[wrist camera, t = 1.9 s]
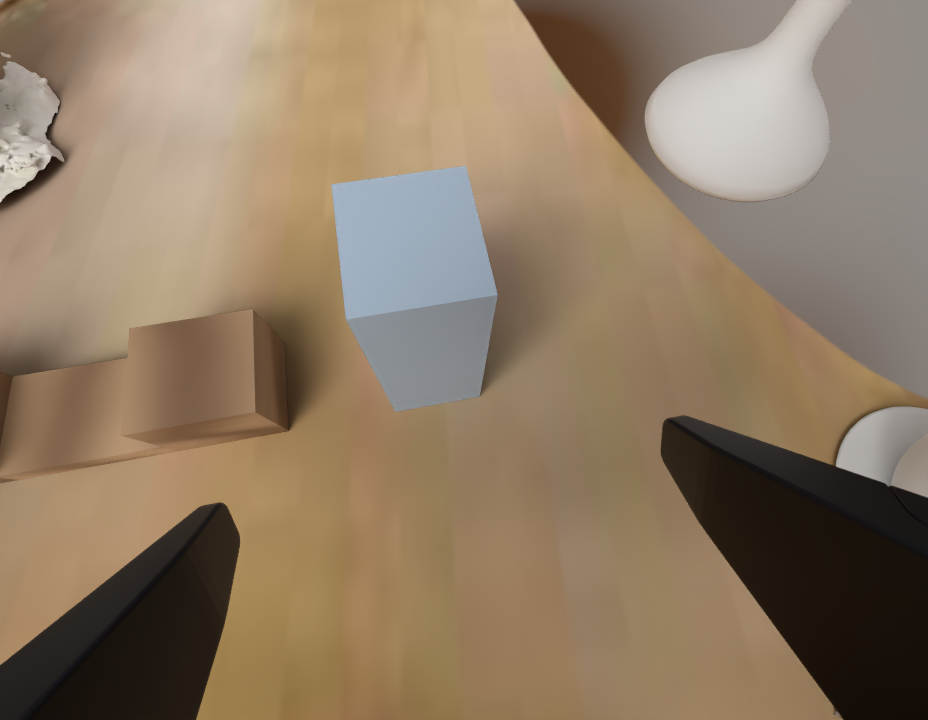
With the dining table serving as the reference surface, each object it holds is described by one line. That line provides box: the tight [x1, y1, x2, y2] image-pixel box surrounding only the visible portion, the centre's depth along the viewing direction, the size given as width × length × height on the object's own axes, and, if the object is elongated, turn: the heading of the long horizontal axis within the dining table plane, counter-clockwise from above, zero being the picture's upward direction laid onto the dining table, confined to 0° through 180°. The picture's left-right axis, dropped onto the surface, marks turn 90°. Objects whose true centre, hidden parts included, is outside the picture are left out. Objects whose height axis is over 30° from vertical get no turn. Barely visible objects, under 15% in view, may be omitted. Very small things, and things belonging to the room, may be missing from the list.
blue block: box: [332, 166, 498, 412], centre depth 19 cm, size 5×4×11 cm
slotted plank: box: [0, 309, 289, 483], centre depth 21 cm, size 18×5×4 cm, turn 101°
